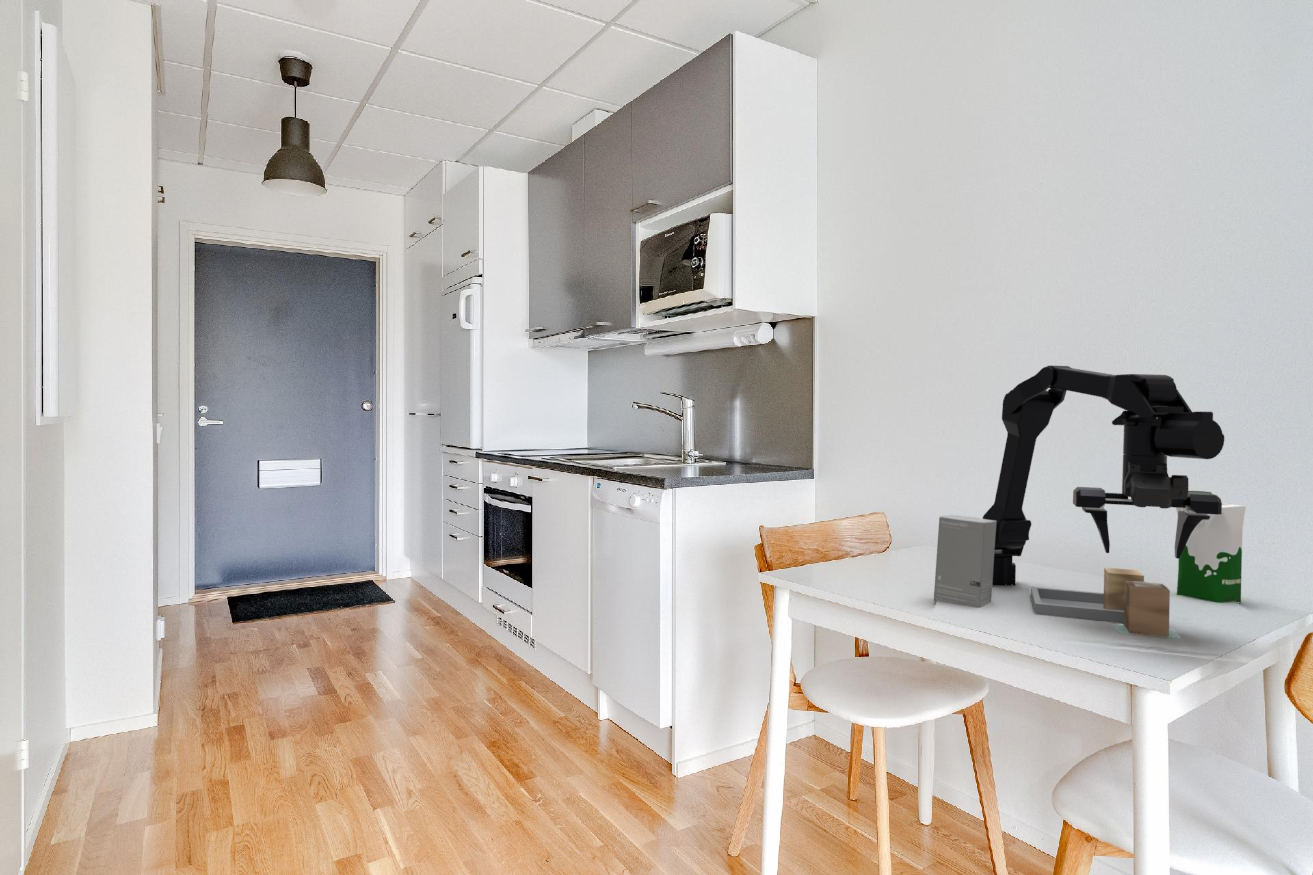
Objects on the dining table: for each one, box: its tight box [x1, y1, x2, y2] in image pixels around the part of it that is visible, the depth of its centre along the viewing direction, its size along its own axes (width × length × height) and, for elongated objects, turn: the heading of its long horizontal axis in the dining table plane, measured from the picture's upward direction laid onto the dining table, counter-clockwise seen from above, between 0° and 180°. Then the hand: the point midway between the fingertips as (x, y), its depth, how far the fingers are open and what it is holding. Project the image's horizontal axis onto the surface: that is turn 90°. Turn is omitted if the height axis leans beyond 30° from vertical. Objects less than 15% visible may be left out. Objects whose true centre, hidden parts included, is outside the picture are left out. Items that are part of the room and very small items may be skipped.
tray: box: [1030, 586, 1124, 624], centre depth 126 cm, size 18×14×2 cm
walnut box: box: [1123, 581, 1171, 638], centre depth 113 cm, size 5×5×7 cm
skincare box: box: [933, 514, 997, 609], centre depth 132 cm, size 8×7×16 cm
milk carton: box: [1175, 490, 1247, 604], centre depth 136 cm, size 9×9×20 cm
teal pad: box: [1112, 623, 1182, 640], centre depth 113 cm, size 8×5×1 cm, turn 66°
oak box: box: [1103, 567, 1145, 611], centre depth 124 cm, size 5×5×7 cm
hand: (1141, 555), depth 115 cm, fingers open, 9 cm apart
